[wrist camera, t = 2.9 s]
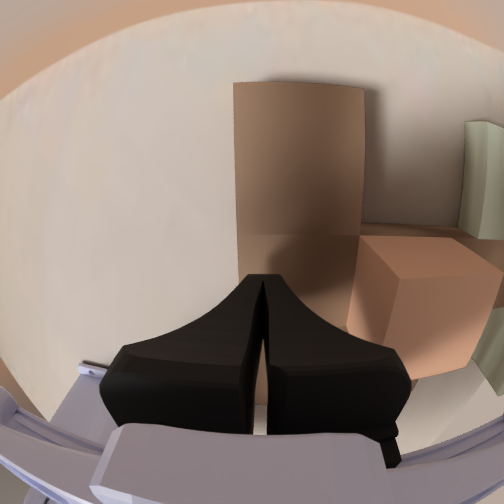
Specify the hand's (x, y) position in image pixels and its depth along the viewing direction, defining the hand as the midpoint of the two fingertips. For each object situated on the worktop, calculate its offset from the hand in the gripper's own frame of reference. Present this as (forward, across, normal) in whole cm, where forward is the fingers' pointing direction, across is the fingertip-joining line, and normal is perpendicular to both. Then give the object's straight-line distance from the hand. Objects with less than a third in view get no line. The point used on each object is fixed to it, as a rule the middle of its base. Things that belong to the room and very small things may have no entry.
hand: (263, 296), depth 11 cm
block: (+1, -6, 0) cm, 6 cm away
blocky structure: (+3, -8, 0) cm, 9 cm away
